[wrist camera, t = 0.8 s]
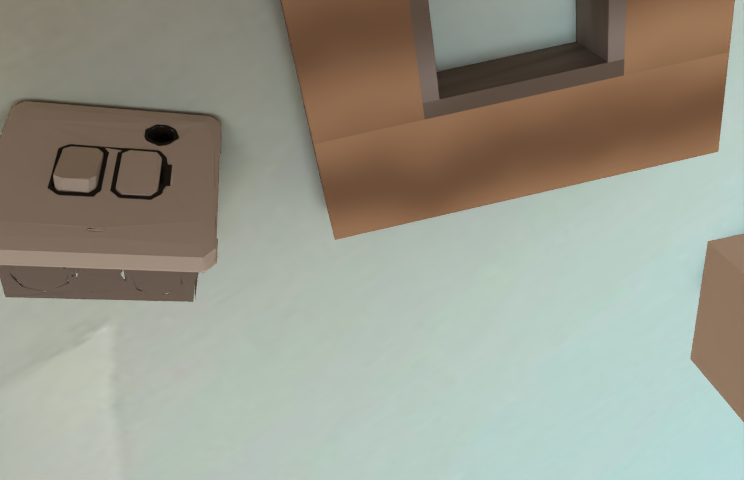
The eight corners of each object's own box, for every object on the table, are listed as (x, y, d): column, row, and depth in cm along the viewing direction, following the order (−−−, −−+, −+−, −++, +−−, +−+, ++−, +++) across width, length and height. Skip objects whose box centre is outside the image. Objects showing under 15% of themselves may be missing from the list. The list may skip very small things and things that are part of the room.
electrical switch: (223, 113, 35) (219, 221, 27) (218, 202, 37) (213, 322, 30) (13, 95, 32) (-53, 207, 25) (26, 191, 35) (-30, 318, 28)
